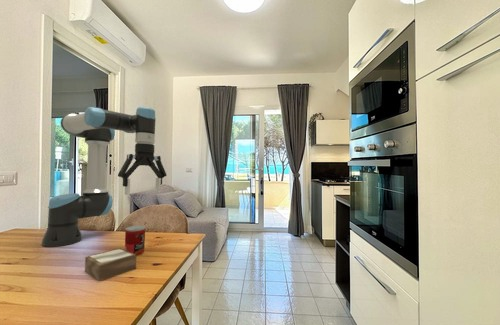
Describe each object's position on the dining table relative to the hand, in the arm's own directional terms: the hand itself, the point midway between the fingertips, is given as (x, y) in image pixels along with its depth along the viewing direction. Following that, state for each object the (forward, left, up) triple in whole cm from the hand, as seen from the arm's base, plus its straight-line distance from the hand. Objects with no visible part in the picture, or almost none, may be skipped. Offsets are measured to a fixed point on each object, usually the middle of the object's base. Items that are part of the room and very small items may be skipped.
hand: (143, 193), depth 96 cm
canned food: (-6, +1, -27) cm, 27 cm away
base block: (+4, -13, -26) cm, 30 cm away
